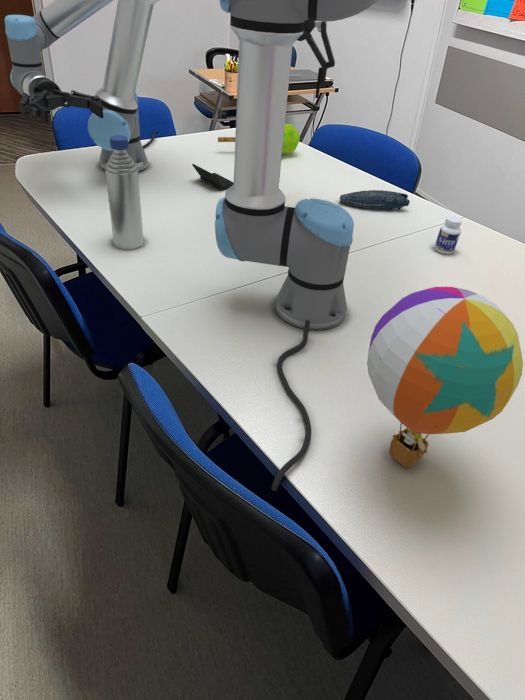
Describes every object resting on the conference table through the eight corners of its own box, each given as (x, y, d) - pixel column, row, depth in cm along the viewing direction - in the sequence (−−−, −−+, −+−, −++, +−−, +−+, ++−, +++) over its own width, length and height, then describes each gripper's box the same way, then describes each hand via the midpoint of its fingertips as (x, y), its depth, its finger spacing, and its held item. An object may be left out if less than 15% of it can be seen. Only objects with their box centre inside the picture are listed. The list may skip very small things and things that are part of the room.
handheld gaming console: (239, 179, 164) (224, 157, 156) (229, 197, 163) (213, 176, 155) (213, 174, 171) (197, 153, 162) (202, 192, 169) (186, 171, 161)
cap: (108, 145, 117) (107, 135, 115) (126, 144, 118) (125, 134, 117) (112, 150, 114) (111, 141, 113) (130, 149, 115) (129, 139, 114)
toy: (317, 448, 82) (351, 286, 63) (393, 397, 93) (442, 246, 74) (418, 536, 71) (496, 372, 52) (491, 467, 82) (578, 310, 63)
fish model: (408, 214, 157) (412, 198, 153) (339, 207, 158) (341, 191, 154) (406, 206, 162) (410, 190, 159) (339, 199, 163) (341, 183, 160)
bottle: (110, 238, 132) (98, 135, 116) (139, 234, 134) (131, 133, 119) (117, 251, 127) (105, 145, 111) (146, 247, 129) (139, 143, 114)
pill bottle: (433, 251, 139) (442, 220, 133) (435, 243, 143) (444, 213, 137) (453, 256, 138) (464, 225, 132) (454, 247, 142) (465, 217, 136)
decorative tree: (215, 117, 188) (295, 117, 193) (215, 147, 195) (292, 146, 200) (221, 131, 174) (307, 131, 180) (221, 163, 181) (304, 161, 186)
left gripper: (89, 104, 146) (123, 126, 134) (-4, 110, 133) (24, 135, 121) (86, 74, 141) (121, 94, 129) (-11, 78, 128) (18, 101, 116)
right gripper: (354, -3, 121) (339, 96, 134) (249, -14, 123) (245, 85, 136) (354, 0, 115) (338, 103, 129) (244, -11, 117) (239, 91, 130)
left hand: (74, 114), depth 125 cm, fingers open, 13 cm apart
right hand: (290, 94), depth 132 cm, fingers open, 13 cm apart
